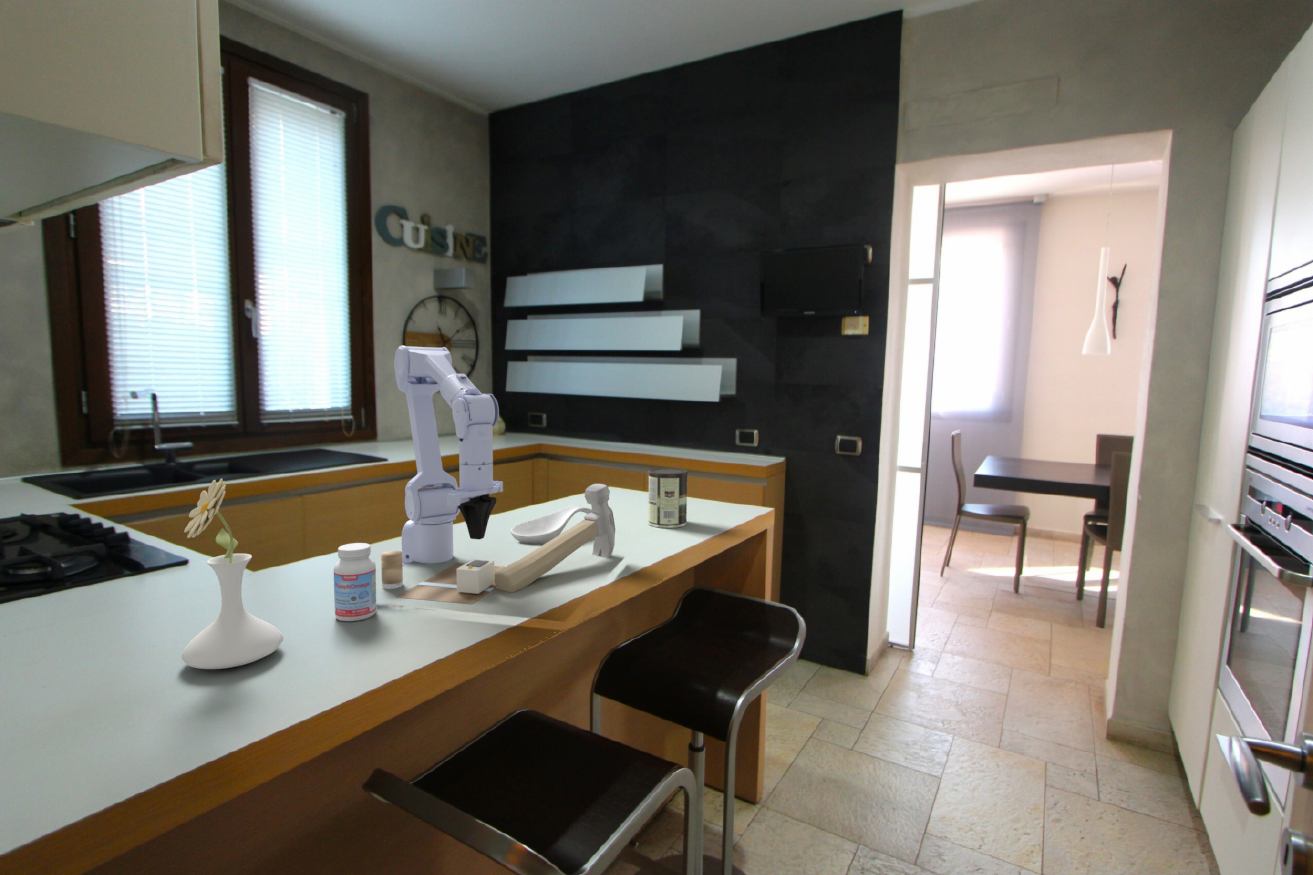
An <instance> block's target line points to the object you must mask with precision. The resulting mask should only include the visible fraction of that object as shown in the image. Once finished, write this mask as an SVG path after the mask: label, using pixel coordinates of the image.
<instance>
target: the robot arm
mask: <svg viewBox="0 0 1313 875" xmlns="http://www.w3.org/2000/svg"><path fill="white" fill-rule="evenodd" d="M393 366H394V369H393V370H394V373H395V374H394V376H395V382H396V384H397V390H399V391H400V392H402V393H404V394H405V397H406V403H407V408H408V417H409V423H410V427H411V428H410V429H411V436H412V443H413V450H414V456H415V465H416V471H417V474H416V475H415V476H413V477H412V478H411V479H410V480H409V481H408V482H407V483H406V485H405V488H404V492H405V493H404V494H405V496H404V509H405V513H406V516H407V518H408V519H409V520H407V521H406V522H405V523H404V525H403V528H402V531H401V552H402V567H405V566H406V565H408V564H411V562H417V563H420V564H422V563H423V564H438V563H439V564H440V563H444V562H448V561H451V560H453V558H454V521H456V520H457V516H458V515H460V512H461V515H462V516H463V519H464V522H465V524H466V525H465V526H466V527H467V532H468V535H469V538H470V539H471V540H482V539H484V538H485V535H486V531H487V527H488V523H489V518H490V516H491V514H492V511H493V509H494V508H495V505H496V504H497V497H495V496H490V495H493V494H496V493H503V492H504V481H502V480H501V481H499V480H494V454H493V453H494V445H493V444H494V443H493V442H494V441H493V440H494V439H493V438H494V437H493V436H494V434H493V432H494V428H493V427H494V426H496V424H497V423H498V420H499V416H500V414H499V413H500V409H499V408H500V407H499V404H498V400H497V399H496V397H495V394H492V393H482V392H481V391H480V390H479V389H478V388H477V387H476V386H475V384H474V383H473V382H472V381H471V379H469V377H468V376H467V375H466V374H465V373H457V371H456V370H455V369H454V368H453V358H452V355H451V352H450V350H449V349H448V348H447V347H444V346H442V347H425V346H424V347H423V346H407V345H399V346H398V348H397V349H396V351H395V354H394V359H393ZM437 392H440V395H441V397H442V398H443V399H444V401H445V402H446V403H447V404H448V405H449V407H450V408H451V409H452V410H451V412H452V419H453V423H454V426H455V434H456V437H457V438H458V452H459V453H458V454H459V456H458V457H459V458H458V460H459V461H458V462H459V463H458V464H459V487H458V482H457V479H456V478H455V477H454V476H452V475H451V474H450V473H448V472H446V471H445V470H444V468H443V462H442V455H441V448H440V442H439V441H440V440H439V435H438V429H437V428H438V427H437V421H436V414H435V408H434V401H433V396H434V394H435V393H437Z"/></svg>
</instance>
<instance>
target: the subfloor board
mask: <svg viewBox="0 0 1313 875" xmlns="http://www.w3.org/2000/svg"><path fill="white" fill-rule="evenodd" d="M464 564H465V563H461V562H455V563H454V564H453V565H450V566H449V567H447V568H445V569H443V570H441V571H440V572H437V573H436V574H434V575H433V576H431V577H429V578H427V579H425V580H424V581H421V582H419V583H417V584H416V585H414V586H412V587H411V588H409V589H407V590H405V591H404V592H401V593H400V594H399V595H396V596H395V598H400V599H401V598H402V599H411V600H412V599H413V600H423V601H432V602H441V603H442V602H443V603H454V604H463V605H474V604H476V602H478V601H479V600H480V599H482V598H484V597H486V595H488V594H489V593H490V592H492V591H493V590H495V589H497V587H496V585H495V582H494V583H493V584H492V585H490V586H489V587H488V588H486V589H485V590H483V591H482V592H480V593H479V594H475V593H464V592H457V572H456V569H457V568H459V567H461V566H463V565H464ZM504 567H505V566H498V565H494V580H495V572H497V571H499V570H501V569H503V568H504Z"/></svg>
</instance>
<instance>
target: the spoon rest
mask: <svg viewBox="0 0 1313 875" xmlns="http://www.w3.org/2000/svg"><path fill="white" fill-rule="evenodd" d="M591 512H592V508H588V507H584V506H582V505H569V506H567V507H562V508H561V509H559V510H558V509H557V510H555V511H553V512H551V513H549V514H546V515H543V516H541V517H538V518H534V519H532V520H528V521H524V522H521V523H518V524H516V525H515V526H513V527H511V529H510V533H511V536H512V537H513V538H514V539H515V540H516V541H518V542H519V543H521V544H525V545H526V544H527V545H538V546H542V545H544V544H546V543H547V542H549V541H550V540H552V539H553V538H555V537H557V536H559V535H560V534H562V533H563V530H564V529H565V527H566V526H567V524H568V523H569V522H570V520H571V518H572V517H573V516H574V515H576V514H577V513H585V514H586V515H587V514H589V513H591Z"/></svg>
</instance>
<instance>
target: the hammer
mask: <svg viewBox="0 0 1313 875" xmlns="http://www.w3.org/2000/svg"><path fill="white" fill-rule="evenodd" d="M584 491H585V492H584V498H585V500H586V503H587V504H589V505H590V506H591V509H592V512H591V513H589V514H586V515H584V516H583V520H581V521H580V522H578V523H576V525H574V526H572V527H570V528H568V529H567V530H565V531H564V532H561V533H560V535H559V536H557V537H555V538H553V539H552V540H550V541H549V542H547V543H546V544H544V545H540V546H539V547H537V548H536V549H534V550H533V551H531V552H530V553H527V555H525V556H523V557H522V558H520V559H518V560H516V561H514V562H512V563H510V564H508V565H506V566H503V567H504V568H503V569H501V570H499V571H497V572H495V580H494V582H495V585H496V589H497V590H499V591H500V590H501V591H503V592H504V591H505V592H508V593H515V592H517V591H519V590H522V589H524V588H526V587H528V586H529V585H531V584H532V583H533V582H534V581H536V580H537V579H539V578H541V577H542V576H544V575H545V574H547V573H548V572H549V571H552V570H553V568H555V567H557V565H559V564H560V563H562V562H563V561H564V560H566V558H568V557H569V556H570V555H572V554H573V553H574V552H576V551H577V550H579V549H580V548H581V547H583V545H585V544H587V543H588V542H589V541H591V540H594V541H593V546H592V553H591V555H592V556H597V557H598V556H600V557H601V558H602V557H603V558H605V559H606V558H607V559H608V558H611V556H612V554H613V551H614V548H615V543H616V542H615V541H616V540H615V537H616V524H615V518H614V512H613V510H612V508H611V507H610V506H609V501H610V493H611V492H610V489H609V487H608V485H606V484H603V483H593V484H591V485H588V486H587V488H586V489H585V490H584Z"/></svg>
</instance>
